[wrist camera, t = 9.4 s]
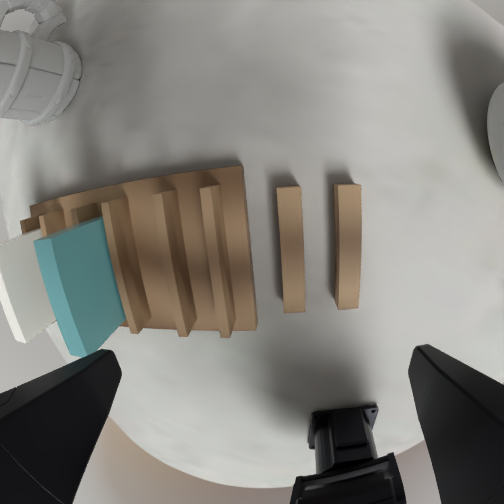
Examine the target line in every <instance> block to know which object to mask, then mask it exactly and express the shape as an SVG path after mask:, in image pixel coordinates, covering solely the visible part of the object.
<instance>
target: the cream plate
mask: <svg viewBox="0 0 504 504" xmlns="http://www.w3.org/2000/svg"><path fill="white" fill-rule="evenodd" d="M40 238H42V232H41V228H38V229H35V230H32V231H29V232H27V233H24V234H21V235H19V236H16V237H14V238H11V239H9V240H6V241H4V242H1V243H0V301H1V304H2V306H3V309H4V312H5V314H6V317H7V320H8V322H9V325H10V327H11V330H12V332H13V334H14V337H15V338H16V341H20V342H23V343H26V344H27V343H28V342H30V341H31V340H32V339H33V338H34V337H36V336H37V335H38V334H39V333H40V332H41V331H43V330H44V329H45V328H47V327H48V326H49V325H50V324H52V323H53V322H54V321H55V320H56V318H55V315H54V312H53V309H52V307H51V304H50V301H49V298H48V294H47V291H46V288H45V285H44V281H43V278H42V274H41V271H40V267H39V263H38V259H37V255H36V251H35V247H34V242H33V241H35V240H37V239H40Z"/></svg>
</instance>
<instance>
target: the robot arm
mask: <svg viewBox="0 0 504 504" xmlns="http://www.w3.org/2000/svg"><path fill="white" fill-rule="evenodd" d="M408 375H409V379H410V384H411V388H412V392H413V396H414V401H415V406H416V410H417V415H418V419H419V422H420V425H421V428H422V431H423V435H424V438H425V441H426V445H427V448H428V451H429V455H430V458H431V462H432V466H433V470H434V473H435V477H436V481H437V486H438V490H439V494H440V499H441V504H504V385H503V384H501V383H499V382H497V381H496V380H494V379H492V378H490V377H488V376H486V375H485V374H483V373H481V372H479V371H477V370H475V369H473V368H472V367H470V366H468V365H466V364H464V363H462V362H460V361H459V360H457V359H455V358H453V357H451V356H449V355H447V354H446V353H444V352H442V351H440V350H438V349H436V348H434V347H433V346H431V345H429V344H425V345H419V346H416V347H415V348H414V350H413V354H412V358H411V361H410V365H409V369H408ZM121 376H122V371H121V368H120V366H119V363H118V361H117V358H116V356H115V354H114V352H113V351H111V350H106V349H100V350H98V351H96V352H94V353H92V354H89V355H87V356H85V357H83V358H81V359H78V360H76V361H74V362H72V363H70V364H67V365H65V366H63V367H61V368H58V369H56V370H54V371H52V372H50V373H47V374H45V375H43V376H41V377H38V378H36V379H33V380H31V381H29V382H27V383H24V384H22V385H20V386H17V388H16V387H15V388H13V389H10V390H8V391H5V392H3V393H0V504H72V503H73V501H74V498H75V495H76V492H77V490H78V487H79V484H80V482H81V479H82V477H83V474H84V472H85V469H86V467H87V464H88V462H89V459H90V457H91V454H92V452H93V450H94V447H95V445H96V442H97V440H98V438H99V435H100V433H101V431H102V429H103V426H104V424H105V422H106V419H107V417H108V415H109V412H110V409H111V406H112V403H113V400H114V397H115V394H116V391H117V388H118V386H119V383H120V380H121ZM377 413H378V406H377V405H371V406H364V407H357V408H348V409H339V410H329V411H317V412H314V413H312V415H311V427H310V438H309V448H310V449H315V457H316V474H314V475H309V476H298V477H296V480H295V484H294V486H293V491H292V496H291V501H290V504H406V497H405V492H404V487H403V483H402V479H401V476H400V472H399V469H398V466H397V463H396V459H395V456H394V453H393V452H392V453H389V454H387V455H386V456H383V457H380V458H378V456H377V451H376V447H375V442H374V438H373V434H372V429H373V426H374V423H375V420H376V417H377Z"/></svg>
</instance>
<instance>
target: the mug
mask: <svg viewBox="0 0 504 504" xmlns="http://www.w3.org/2000/svg"><path fill="white" fill-rule="evenodd" d="M18 9H24V10H25V11H29V12H31V13H34V14H35V15H34V17H35V18H36V20H37V21H38V24H40V25H39V27H38V28H37V29H36V30H35V32H34V33H33V34H32V36H30V35H29V34H28V33H26V32H23V31H19V30H17V31H13V32H9V31H3V30H0V118H7V119H18V120H20V121H21V122H22V123H24V124H28V125H30V126H34V125H38V124H41V123H43V122H49V121H52V120H54V119H55V118H57V117H58V116H59V115H61V114H62V112H63V111H64V109H65V108H66V107H67V105H68V104H69V103H70V102H71V100H72V99H73V97H74V95H75V93H76V91H77V89H78V86H79V83H80V81H79V80H78V79H79V78H80V77H81V74H82V66H81V61H80V58H79V55H78V54H77V53H76V52H75V51H74V50H73V49H72V47H71V46H69V45H68V44H67V43H64V42H61V41H51V42H48V41H47V40H48V37H49V35H50V34H51V32H52V31H53V30H54V29H55V28H56V27H58V26H59V25H62V24H63V23H65V22H66V20H67V19H66V17H65V16H64V14H63V13H62V11H61V9H62V7H61V6H60V5H59V4H58V3H57V2H56V1H55V0H0V27H1V24H2V21H3V19H4V17H5V15H6V14H8V13H10V12H13V11H15V10H18Z"/></svg>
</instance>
